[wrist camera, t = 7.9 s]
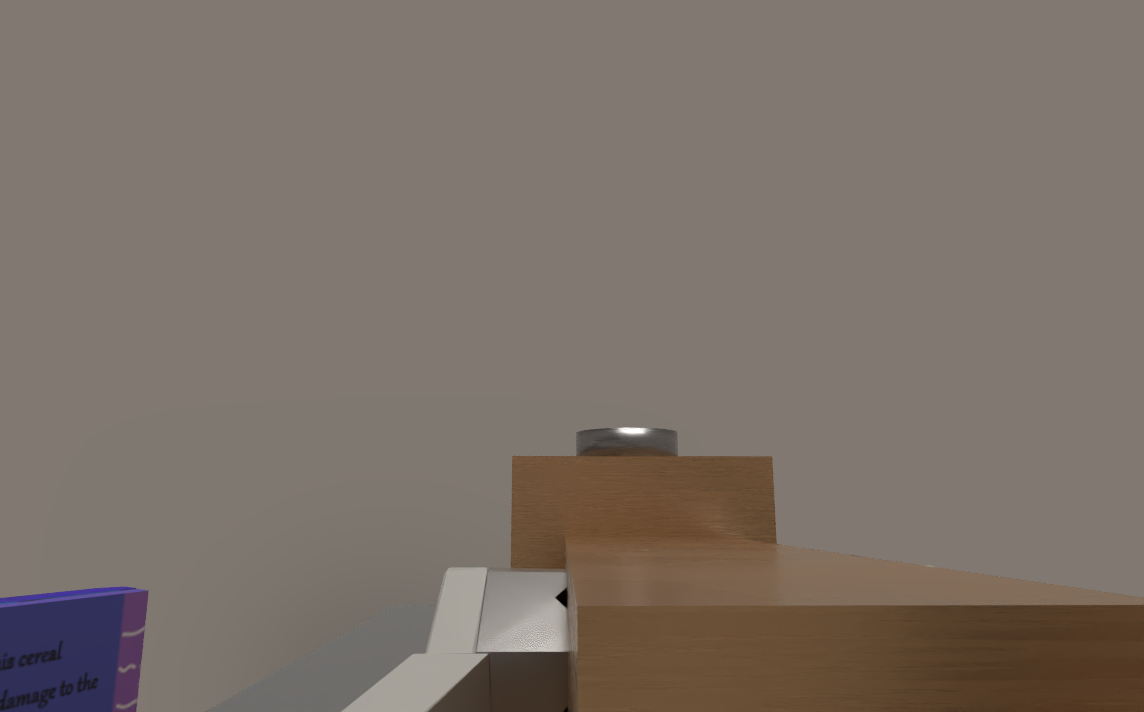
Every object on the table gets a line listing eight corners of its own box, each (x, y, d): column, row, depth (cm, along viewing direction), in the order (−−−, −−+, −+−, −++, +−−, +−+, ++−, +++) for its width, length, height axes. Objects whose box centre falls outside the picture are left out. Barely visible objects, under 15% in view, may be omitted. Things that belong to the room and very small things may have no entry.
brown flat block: (336, 1234, 3) (392, 159, 4) (524, 629, 20) (526, 442, 21) (1521, 1220, 3) (1307, 166, 4) (717, 628, 20) (710, 442, 21)
